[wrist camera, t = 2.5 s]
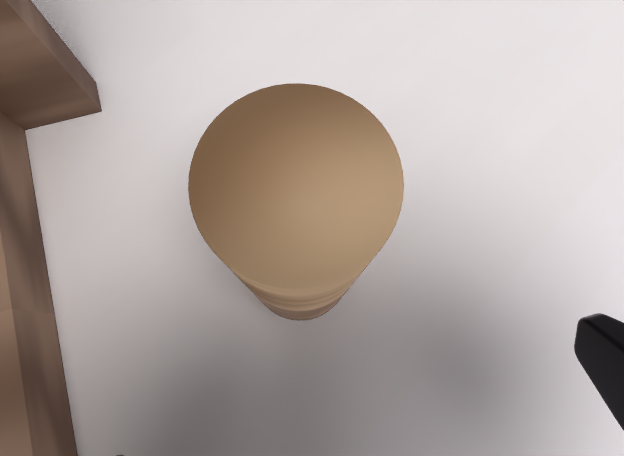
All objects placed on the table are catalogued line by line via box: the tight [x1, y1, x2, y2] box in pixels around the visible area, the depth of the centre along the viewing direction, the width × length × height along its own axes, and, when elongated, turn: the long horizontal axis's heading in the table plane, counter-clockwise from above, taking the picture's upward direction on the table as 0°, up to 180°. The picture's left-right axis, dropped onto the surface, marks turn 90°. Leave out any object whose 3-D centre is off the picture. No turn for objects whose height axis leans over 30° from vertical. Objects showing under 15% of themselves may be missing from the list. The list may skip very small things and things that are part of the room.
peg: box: [188, 84, 404, 320], centre depth 15 cm, size 4×4×12 cm
